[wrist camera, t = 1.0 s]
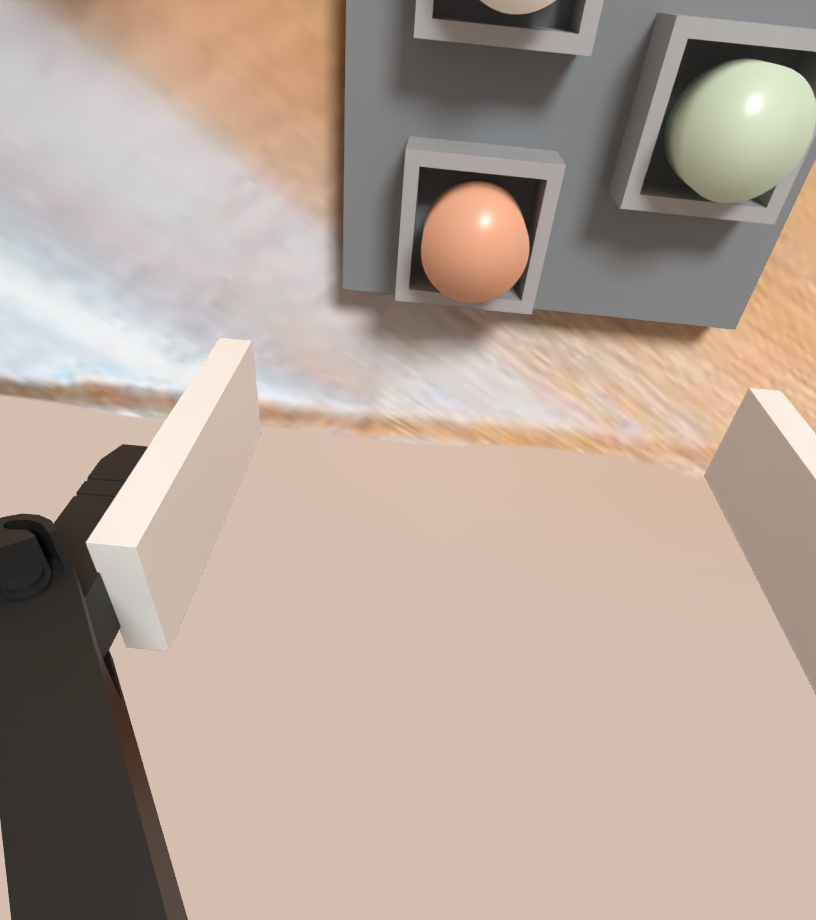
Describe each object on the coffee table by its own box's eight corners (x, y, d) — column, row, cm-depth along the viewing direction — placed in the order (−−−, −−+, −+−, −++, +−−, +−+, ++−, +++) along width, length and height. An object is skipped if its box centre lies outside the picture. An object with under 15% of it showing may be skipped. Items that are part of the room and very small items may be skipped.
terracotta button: (419, 276, 27) (416, 297, 26) (428, 173, 25) (426, 189, 23) (513, 285, 27) (517, 307, 26) (533, 184, 25) (540, 201, 23)
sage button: (648, 180, 24) (664, 197, 22) (688, 51, 22) (711, 57, 20) (754, 191, 24) (779, 209, 22) (808, 64, 22) (842, 71, 20)
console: (348, 274, 32) (334, 310, 28) (357, -239, 20) (337, -285, 17) (721, 312, 32) (754, 353, 28) (939, -177, 20) (1039, -210, 17)
